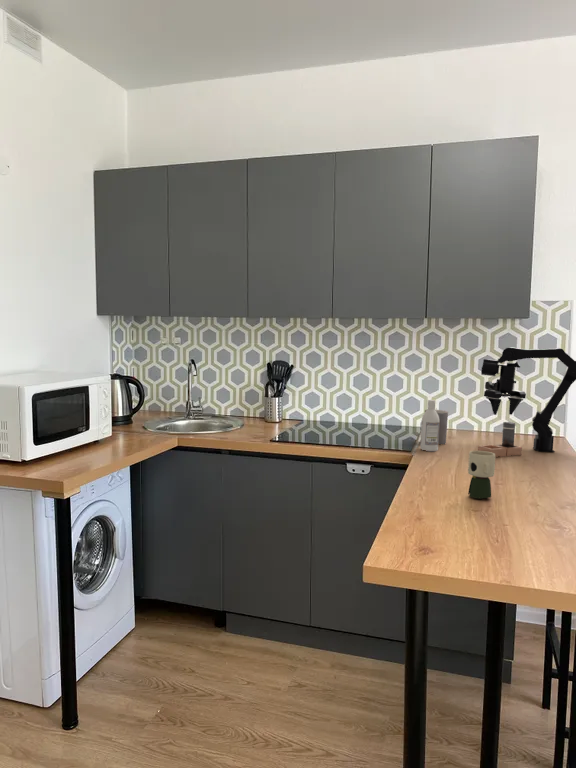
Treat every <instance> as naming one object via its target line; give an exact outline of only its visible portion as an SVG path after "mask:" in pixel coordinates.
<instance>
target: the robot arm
mask: <svg viewBox="0 0 576 768" xmlns="http://www.w3.org/2000/svg"><path fill="white" fill-rule="evenodd" d="M524 359H558V360H559V361H560V362H561V363H562V364H564V365H565V366H566V368H565V369H566V370H565V371H564V375H563V377H562V379H561V381H560V383H559V384H558V386H557V388H556V389H555V391H554V392H553V394H552V396H551V397H550V399H549V400H548V402H547V404H546V405H545V407H544V408H543V409H541V411H539V410H536V411H537V412H536V413H535V415H534V417H532V420H531V421H532V422H531V423H532V425H531V426H532V429H533V430H534V431H535V432H536V433H537V434H535V435H534V436H535V437H534V438H533V445H532V446H533V447H532V449H534V451H537V452H543V453H544V452H545V453H546V452H547V453H555V450H554V441H555V440H554V437H555V436H553V434H554V432H553V429H552V428H551V427H550V426H549V424H550V422H551V419H552V417H553V415H554V412H555V411H556V409H557V407H559V404H560V403H561V402H562V401H563V400H562V399H564V397H565V395H566V393H567V392H568V391H569V389H570V387H571V386H572V384H574V382H576V360H575V359H573V358H572V357H571V356H570V355H569V354H568V353H566V352H565V350H564V348H563V349H562V348H560V347H557V348H539V349H538V348H536V349H535V348H533V349H531V348H529V349H526V348H520V347H519V348H518V347H512V346H510V347H509V346H508V347H505V349H504V350H502V351H501V356H500V357H499V358H497V360H496V359H488V358H484V359H483V362H482V366H481V372H480V374H481V375H482V376H490V377H496V375H499V378H497V379H496V382H492V381H485V383H484V388H485V390H484V393H483V397H485V398H486V399H487V400H488V401H489V402H490V405H491V408H492V413H493V415H495V416H496V415H497V414H498V411H499V408H500V405H501V402H502V399H501V398H502V397H507V399H508V401H509V407H508V409H509V410H508V415H510V416H511V415H513V414H514V412H515V411H516V409H517V408H518V406H520V404H521V402H523V401H524V399H526V396H527V393H526V392H525V391H523V390H518V389H514V386H515V385H514V384H517V380H515V378H516V377H515V376H516V369H517V368H519V369H520V368H521V365H520V364H519V362H518V361H519V360H524ZM514 361H515V362H514ZM505 362H507V363H506V364H503V363H505Z"/></svg>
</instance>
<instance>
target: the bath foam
mask: <svg viewBox="0 0 576 768" xmlns="http://www.w3.org/2000/svg"><path fill="white" fill-rule="evenodd" d="M425 410H426V412H425V411H424V413H423V415H422V417H421V423H420V424H421V425H420V427H421V428H420V430H421V431H420V447H419V448H420V450H421V449H422V450H421V451H423V450H426V451H425V452H437V451H439V445H438V442H439V424H440V421H439V416H438V414H437V412H436V400H435V399H428V400H427V409H425Z"/></svg>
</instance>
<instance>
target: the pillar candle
mask: <svg viewBox="0 0 576 768" xmlns="http://www.w3.org/2000/svg"><path fill="white" fill-rule="evenodd" d="M426 410H427V409H425V410H424V413H425V412H426ZM435 410H436V412H437V414H438V416H439V421H440V424H439V442H438V444H444V445H446V444H447V433H448V418H449V417H448V415H449V411H446V410H442V409H437V408H435ZM445 443H446V444H445Z"/></svg>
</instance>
